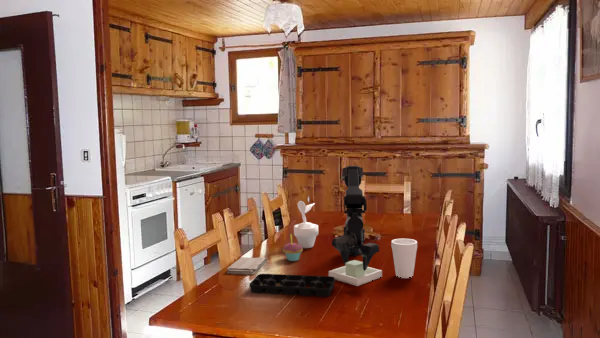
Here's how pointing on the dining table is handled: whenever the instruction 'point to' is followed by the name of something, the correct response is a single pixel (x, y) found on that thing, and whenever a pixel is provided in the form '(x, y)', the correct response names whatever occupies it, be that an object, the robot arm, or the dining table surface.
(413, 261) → the foam cup
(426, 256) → the dining table surface
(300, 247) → the cupcake
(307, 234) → the potted plant
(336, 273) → the tray
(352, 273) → the cube
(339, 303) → the dining table surface
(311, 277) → the egg carton
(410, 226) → the dining table surface
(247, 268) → the washcloth
